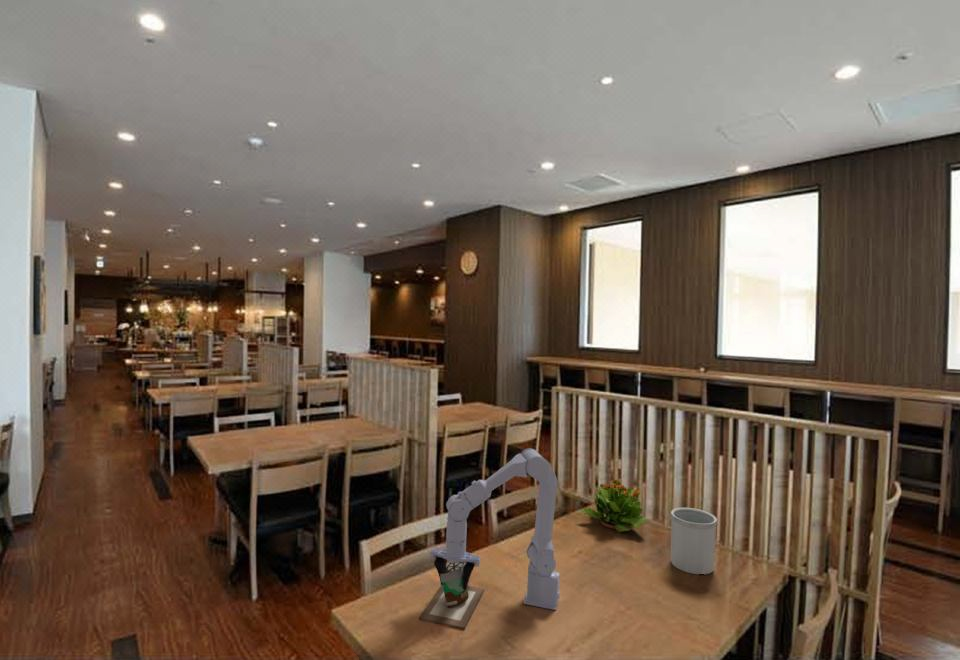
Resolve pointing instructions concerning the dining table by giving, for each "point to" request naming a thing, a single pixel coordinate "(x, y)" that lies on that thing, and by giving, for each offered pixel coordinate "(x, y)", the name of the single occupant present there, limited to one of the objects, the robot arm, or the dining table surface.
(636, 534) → the dining table surface
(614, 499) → the potted flower
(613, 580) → the dining table surface
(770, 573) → the dining table surface
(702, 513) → the utensil holder
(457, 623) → the brown picture frame
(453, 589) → the food container
